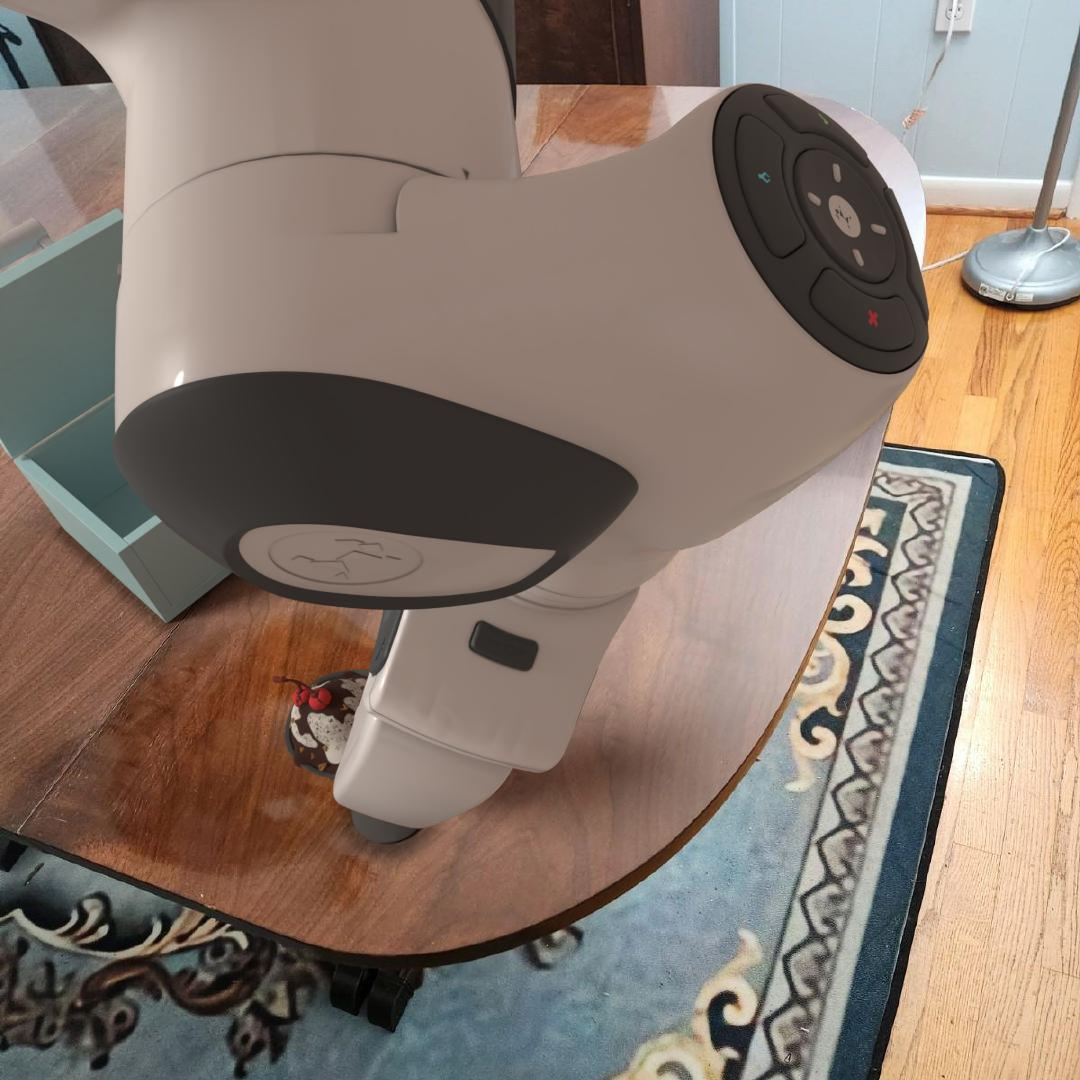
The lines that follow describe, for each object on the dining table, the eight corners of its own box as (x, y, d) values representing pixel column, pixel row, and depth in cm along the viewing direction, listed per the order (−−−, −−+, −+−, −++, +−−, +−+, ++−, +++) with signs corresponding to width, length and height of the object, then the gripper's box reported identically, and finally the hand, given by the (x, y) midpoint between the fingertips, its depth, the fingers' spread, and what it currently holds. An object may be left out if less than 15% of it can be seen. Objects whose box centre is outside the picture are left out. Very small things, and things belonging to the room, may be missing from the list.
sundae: (317, 809, 62) (225, 673, 51) (401, 738, 65) (332, 594, 54) (379, 881, 58) (295, 751, 47) (466, 803, 61) (405, 663, 50)
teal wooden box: (312, 509, 80) (278, 436, 74) (166, 623, 74) (117, 553, 68) (202, 433, 89) (164, 361, 83) (64, 530, 83) (12, 460, 77)
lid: (127, 216, 67) (76, 166, 68) (-68, 327, 61) (-121, 271, 62) (165, 360, 82) (123, 318, 83) (13, 459, 76) (-31, 413, 77)
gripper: (519, 237, 38) (406, 403, 50) (355, 752, 29) (263, 809, 40) (659, 311, 40) (519, 454, 52) (549, 818, 31) (407, 855, 42)
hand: (405, 613), depth 46 cm, fingers open, 8 cm apart
